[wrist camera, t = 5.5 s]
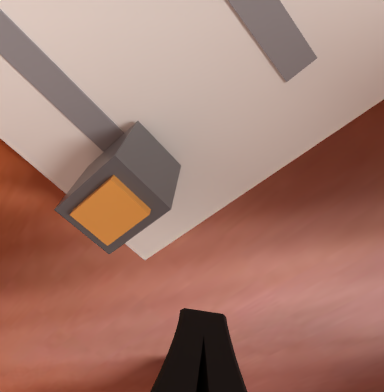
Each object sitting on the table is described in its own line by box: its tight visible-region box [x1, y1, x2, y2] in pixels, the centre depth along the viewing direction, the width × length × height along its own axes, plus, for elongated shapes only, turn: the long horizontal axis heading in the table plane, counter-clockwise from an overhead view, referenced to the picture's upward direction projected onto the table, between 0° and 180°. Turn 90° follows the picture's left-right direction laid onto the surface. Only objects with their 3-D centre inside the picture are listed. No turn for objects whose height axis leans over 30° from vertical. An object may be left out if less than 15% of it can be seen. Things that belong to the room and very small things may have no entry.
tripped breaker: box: [54, 121, 181, 254], centre depth 12 cm, size 2×3×4 cm
